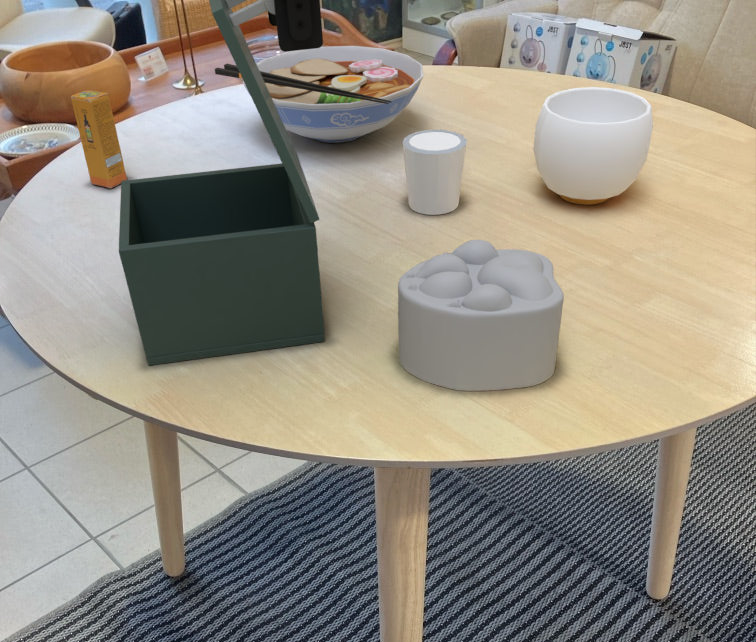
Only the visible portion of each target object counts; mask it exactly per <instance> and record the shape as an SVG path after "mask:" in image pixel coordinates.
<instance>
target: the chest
mask: <svg viewBox="0 0 756 642" xmlns="http://www.w3.org/2000/svg"><path fill="white" fill-rule="evenodd" d="M119 203H120V205H119V206H120V207H119V227H118V228H119V230H118V231H119V232H118V254H119V258H120V261H121V266H122V270H123V273H124V277H125V282H126V284H127V289H128V293H129V296H130V300H131V305H132V308H133V313H134V316H135V320H136V323H137V328H138V332H139V335H140V340H141V343H142V348H143V352H144V354H145V355H144V356H145V358H146V363H147V366H154V365H155V366H156V365H162V364H170V363H177V362H187V361H192V360H193V361H194V360H200V359H207V358H212V357H215V358H216V357H221V356H228V355H235V354H245V353H252V352H259V351H266V350H272V349H274V350H275V349H280V348H287V347H294V346H295V347H296V346H303V345H310V344H317V343H318V344H319V343H325V342H326V334H325V322H324V321H325V320H324V309H323V296H322V285H321V275H320V272H321V271H320V260H319V251H318V250H319V249H318V239H317V238H318V237H317V227H316V225H315V222H313V223H310V221H309V219H308V217H307V215H306V212H305V210H304V208H303V206H302V204H301V202H300V200H299V198H298V195H297V193H296V191H295V189H294V187H293V185H292V183H291V181H290V178H289V176H288V174H287V172H286V170H285V168H284V166H283V163H282V162H281V163H273V164H265V165H264V164H263V165H254V166H245V167H236V168H227V169H217V170H209V171H200V172H191V173H180V174H172V175H171V174H170V175H163V176H153V177H145V178H135V179H127V180H125V181H121V184H120V202H119Z"/></svg>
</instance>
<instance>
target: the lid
mask: <svg viewBox="0 0 756 642" xmlns="http://www.w3.org/2000/svg"><path fill="white" fill-rule="evenodd" d="M208 1H209V6H210V11H211V14H212V17H213V19H214V21H215V24H216V25H217V28H218V30H219V31H220V33H221V36H222V37H223V40H224V42H225V44H226V46H227V48H228V50H229V53H230V55H231V57H232V59H233V62H234V63H235V65H236V66H237V68H238V70H239V72H240V74H241V76H242V78H243V79H242V78H241V79H242V81H243V80H244V83H245V85H246V87H247V89H248V91H249V93H250V94H249V93H248V94H249V96H250V95H251V96H250V97H251V99H252V102H253V105H255V108H256V110H257V113H258V114H259V117H260V119H261V121H262V123H263V125H264V127H265V130H266V131H267V134H268V136H269V138H270V140H271V142H272V144H273V146H274V149H275V151H276V153H277V155H278V157H279V159H280V162H281V163H283V166H284V168H285V170H286V172H287V174H288V176H289V178H290V181H291V183H292V185H293V187H294V189H295V191H296V193H297V195H298V198H299V200H300V202H301V204H302V206H303V208H304V210H305V212H306V215H307V217H308V219H309V221H310V223H313V222H314V223H315V222H317V221H320V216H319V213H318V211H317V207H316V204H315V201H314V199H313V196H312V193H311V190H310V187H309V184H308V181H307V179H306V176H305V173H304V170H303V167H302V164H301V161H300V157H299V155H298V153H297V150H296V148H295V145H294V144H293V141H292V140H291V137H290V135H289V133H288V131H287V130H286V128H285V126H284V124H283V122H282V120H281V117H280V115H279V113H278V111H277V109H276V106H275V104H274V102H273V100H272V98H271V95H270V93H269V91H268V89H267V86H266V84H265V82H264V80H263V78H262V75H261V73H260V71H259V69H258V67H257V62H256V61H255V58H254V55H253V53H252V51H251V49H250V46H249V45H248V41H247V40H246V38H245V36H244V34H243V31H242V29H241V26H240V25H242V24H243V23H246V22H248V21H250V20H252V19H254V18H255V17H258V16H260V15H262V14H264V13H266V12H267V13H268V12H270V13H271V14H274V15H275V6H274V0H256V1H254V2H252V3H250V4H248V5H246V6H244V7H243V8H240V9H238V10H236V11H233V8H234V7H236V6H239V5H240V4H242V3H244V2H246V1H247V0H208ZM247 89H246V90H247ZM248 91H247V92H248Z"/></svg>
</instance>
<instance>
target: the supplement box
mask: <svg viewBox="0 0 756 642" xmlns="http://www.w3.org/2000/svg"><path fill="white" fill-rule="evenodd" d="M109 95H110V94H109V93H108V92H103V91H96V90H93V89H87V90H83V91H80V92H77V93H75V94H73V95H71V96H70V100H71V104H72V108H73V112H74V117H75V120H76V124H77V125H76V126H77V129H78V134H79V137H80V138H79V139H80V142H81V145H82V150H83V154H84V159H85V163H86V166H87V167H86V168H87V171H88V175H89V180H90V184H92V185H94V186H100V187H105V188H108V189H113V188H115V187H117V186H119V185H121V181H125V180H128V177H127V173H126V168H125V163H124V157H123V155H122V150H121V145H120V141H119V137H118V132H117V128H116V122H115V119H114V114H113V110H112V105H111V101H110V97H109Z"/></svg>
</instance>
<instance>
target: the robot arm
mask: <svg viewBox="0 0 756 642" xmlns="http://www.w3.org/2000/svg"><path fill="white" fill-rule="evenodd" d="M274 6H275V15H274V14H271V13H270V12H268V11H267V18H268V22H269V24H270V25H271V26H272V27H276V32H277V41H278V47H279V49H280V50H281V51H282V52H283V53H286V52H290V51H297V50H306V49H315V48H320V47H323V45H324V35H323V24H322V10H321V0H274Z"/></svg>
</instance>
